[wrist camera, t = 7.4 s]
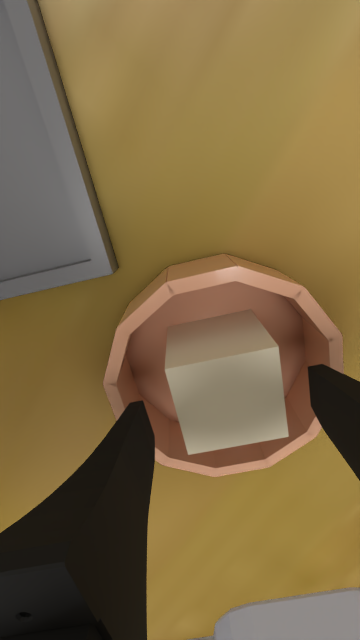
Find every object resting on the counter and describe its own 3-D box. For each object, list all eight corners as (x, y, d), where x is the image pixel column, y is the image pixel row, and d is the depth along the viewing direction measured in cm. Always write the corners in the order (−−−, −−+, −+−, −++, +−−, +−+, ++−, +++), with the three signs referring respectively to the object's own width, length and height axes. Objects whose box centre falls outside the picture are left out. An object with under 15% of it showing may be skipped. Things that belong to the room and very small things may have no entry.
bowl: (148, 442, 19) (142, 489, 16) (94, 283, 15) (72, 303, 12) (316, 410, 18) (346, 453, 15) (303, 234, 15) (339, 242, 11)
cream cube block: (185, 395, 17) (188, 454, 13) (167, 326, 16) (164, 369, 11) (260, 380, 17) (288, 436, 13) (250, 309, 15) (278, 346, 11)
